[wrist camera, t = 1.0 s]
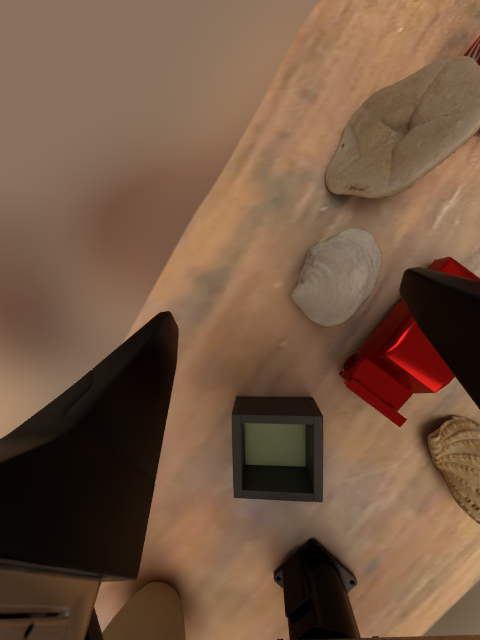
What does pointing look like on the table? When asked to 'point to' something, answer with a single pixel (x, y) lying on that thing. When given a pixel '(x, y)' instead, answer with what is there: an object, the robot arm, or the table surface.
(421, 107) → the stone
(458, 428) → the seashell
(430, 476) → the table surface
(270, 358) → the table surface
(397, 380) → the toy car
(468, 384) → the robot arm
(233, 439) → the holder
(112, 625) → the tan cup
